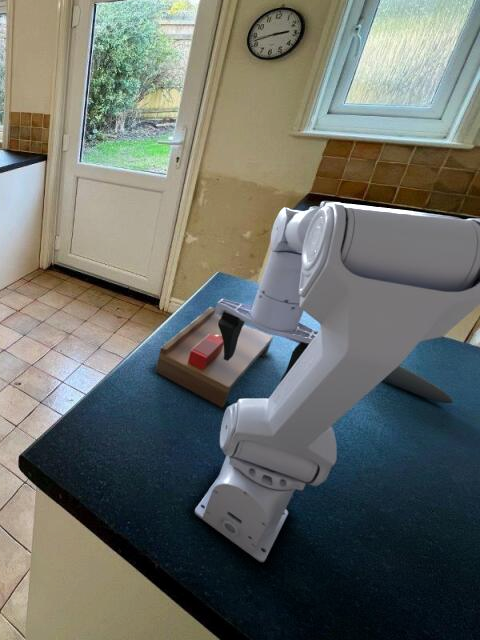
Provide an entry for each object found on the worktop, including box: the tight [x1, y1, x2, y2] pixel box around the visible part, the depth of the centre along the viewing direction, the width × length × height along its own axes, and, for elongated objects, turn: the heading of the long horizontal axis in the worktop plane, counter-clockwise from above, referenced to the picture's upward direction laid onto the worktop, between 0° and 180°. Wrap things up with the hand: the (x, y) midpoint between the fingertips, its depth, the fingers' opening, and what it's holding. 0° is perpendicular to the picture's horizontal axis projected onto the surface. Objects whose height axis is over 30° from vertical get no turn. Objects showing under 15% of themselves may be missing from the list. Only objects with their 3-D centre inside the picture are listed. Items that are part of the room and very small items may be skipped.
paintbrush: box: [382, 364, 453, 404], centre depth 77 cm, size 20×5×5 cm, turn 38°
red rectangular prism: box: [188, 334, 223, 370], centre depth 76 cm, size 10×3×3 cm, turn 130°
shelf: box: [154, 306, 274, 408], centre depth 80 cm, size 22×12×6 cm, turn 130°
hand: (254, 369), depth 64 cm, fingers open, 7 cm apart
